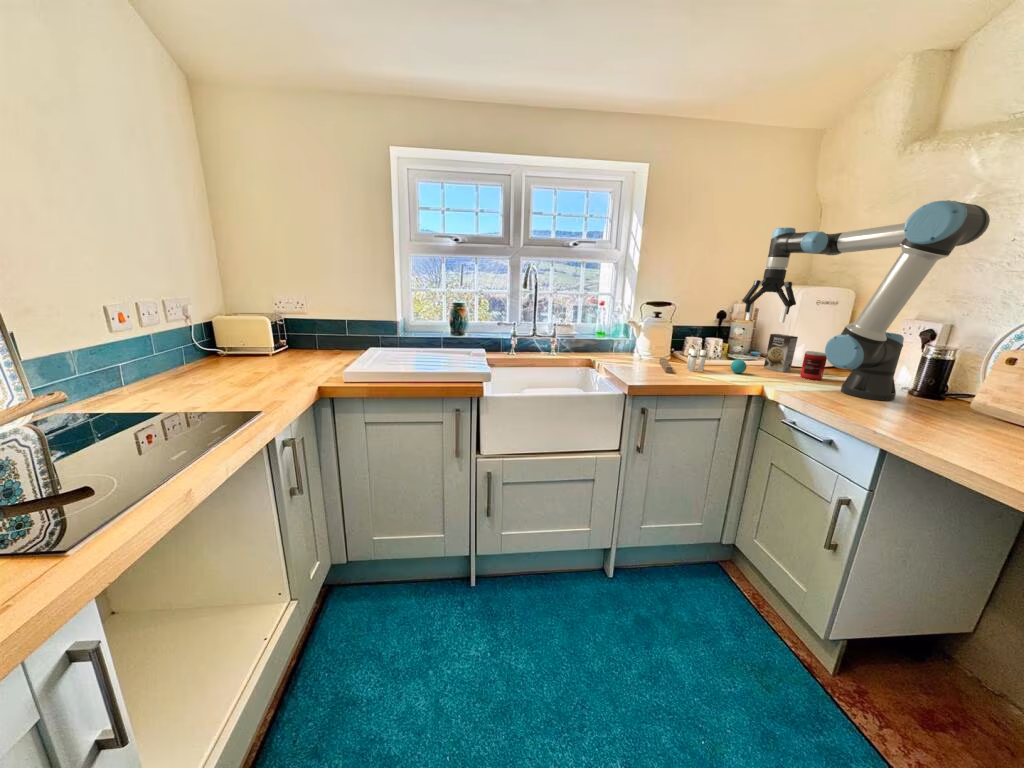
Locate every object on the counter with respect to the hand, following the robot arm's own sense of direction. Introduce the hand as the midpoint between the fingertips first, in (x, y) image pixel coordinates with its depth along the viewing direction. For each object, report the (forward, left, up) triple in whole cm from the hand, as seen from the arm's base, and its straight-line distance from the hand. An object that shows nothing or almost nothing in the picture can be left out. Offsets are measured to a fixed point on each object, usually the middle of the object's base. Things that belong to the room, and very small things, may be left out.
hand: (764, 321), depth 171 cm
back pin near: (-3, +26, -23) cm, 35 cm away
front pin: (0, +22, -23) cm, 32 cm away
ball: (0, +7, -20) cm, 21 cm away
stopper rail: (0, +37, -23) cm, 43 cm away
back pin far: (+3, +26, -23) cm, 35 cm away
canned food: (+1, -22, -23) cm, 32 cm away
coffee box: (+15, -14, -23) cm, 31 cm away
